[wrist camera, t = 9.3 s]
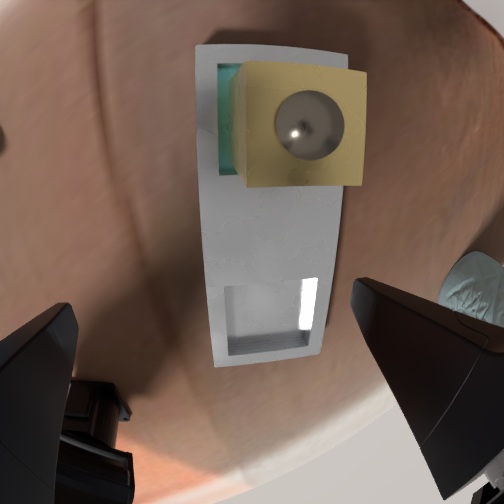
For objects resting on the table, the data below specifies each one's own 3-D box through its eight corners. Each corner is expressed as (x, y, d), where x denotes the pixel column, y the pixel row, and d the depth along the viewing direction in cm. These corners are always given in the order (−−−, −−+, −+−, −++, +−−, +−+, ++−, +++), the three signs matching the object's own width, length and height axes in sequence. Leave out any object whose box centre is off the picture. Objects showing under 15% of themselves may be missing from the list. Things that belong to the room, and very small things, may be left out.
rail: (312, 339, 27) (319, 353, 25) (212, 350, 25) (214, 367, 24) (334, 59, 17) (347, 54, 15) (195, 52, 15) (195, 45, 14)
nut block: (308, 159, 19) (363, 186, 12) (230, 161, 18) (247, 189, 11) (310, 83, 16) (368, 72, 10) (228, 80, 16) (246, 59, 9)
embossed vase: (498, 264, 28) (562, 316, 17) (455, 329, 31) (508, 391, 21) (468, 230, 25) (554, 290, 14) (415, 311, 28) (482, 390, 17)
